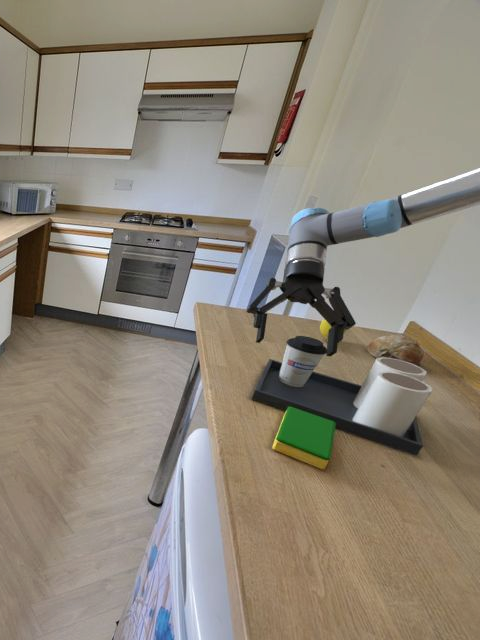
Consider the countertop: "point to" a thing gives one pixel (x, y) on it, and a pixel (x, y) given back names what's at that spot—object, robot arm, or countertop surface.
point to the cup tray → (329, 405)
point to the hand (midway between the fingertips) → (294, 347)
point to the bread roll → (397, 348)
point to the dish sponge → (305, 437)
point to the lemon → (325, 328)
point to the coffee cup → (300, 360)
